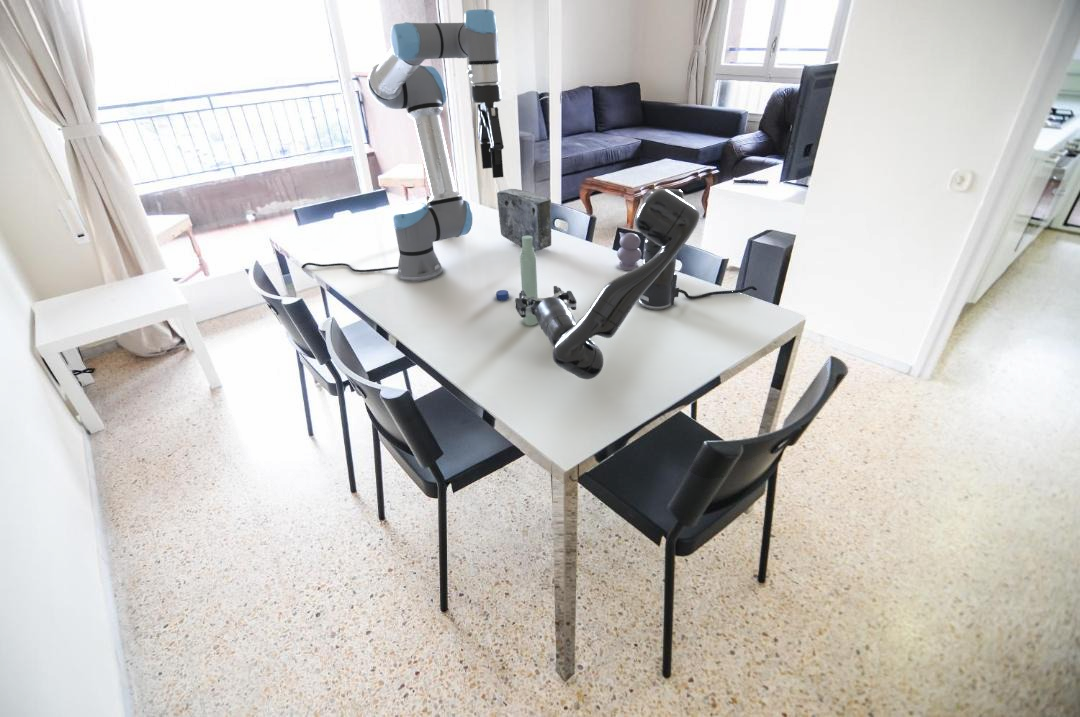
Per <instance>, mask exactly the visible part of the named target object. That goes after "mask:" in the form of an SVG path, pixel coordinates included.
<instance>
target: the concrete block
mask: <svg viewBox="0 0 1080 717" xmlns="http://www.w3.org/2000/svg"><path fill="white" fill-rule="evenodd" d="M496 197H497V208H498V219H499V221H498V222H499V228H500V234H501V236H503V238H505V239H507V240H508V241H511V243H514V244H515V245H517V246H519V247H521V248H523V247H522V237H523V236H532V239H533V240H532V247H533V250H534V251H542V250H544V249H546V248H548V247H551V245H552V200H551V198H550V197H546V196H544V195H541V194H538V193H535V192H531V191H527V190H522V189H517V188H508V189H503V190H500V191H498V192H497V193H496Z"/></svg>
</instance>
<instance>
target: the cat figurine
mask: <svg viewBox="0 0 1080 717" xmlns="http://www.w3.org/2000/svg"><path fill="white" fill-rule="evenodd" d="M619 237H620V238H619V245H620V247H619V249H618V250H617V253H616V256H617V258H618V260H619V262H618V268H619V269H620V270H623V271H632V270H634V269H636V268H638V264H639V263H638V262H639V261H640V260H641V258H642V251H641V249H640V248H639V247H640V246H641V238H640V236H638V234H635V233H633V232H627V233H623V232H620V231H619Z"/></svg>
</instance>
